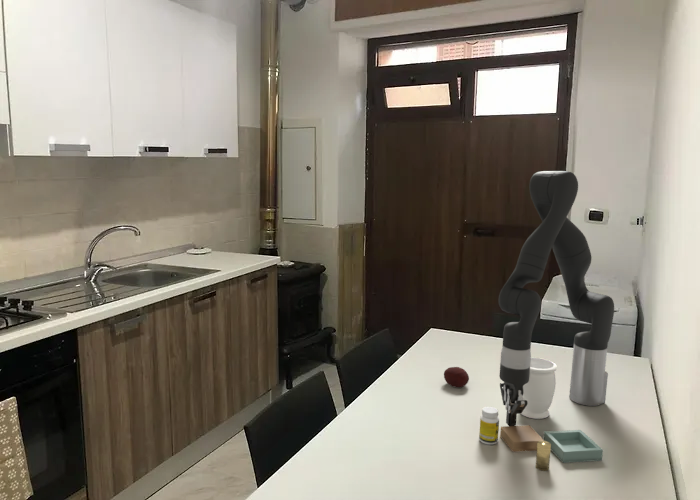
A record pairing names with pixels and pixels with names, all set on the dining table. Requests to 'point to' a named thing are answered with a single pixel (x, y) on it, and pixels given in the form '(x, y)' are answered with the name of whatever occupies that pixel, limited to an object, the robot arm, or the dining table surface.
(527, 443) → the brown wooden square block
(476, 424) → the dining table surface
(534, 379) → the jar
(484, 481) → the dining table surface
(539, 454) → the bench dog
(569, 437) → the tray
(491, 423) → the supplement bottle
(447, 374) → the potato
